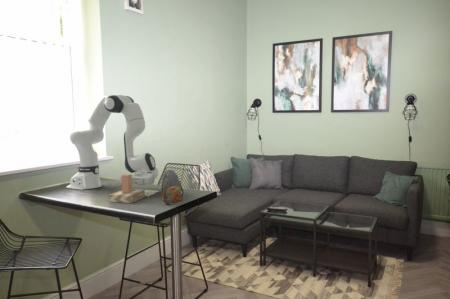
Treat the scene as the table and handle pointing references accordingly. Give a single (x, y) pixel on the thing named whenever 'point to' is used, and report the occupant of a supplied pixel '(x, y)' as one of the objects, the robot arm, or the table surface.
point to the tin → (172, 194)
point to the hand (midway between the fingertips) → (128, 182)
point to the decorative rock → (170, 180)
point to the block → (126, 183)
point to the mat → (150, 192)
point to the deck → (127, 196)
